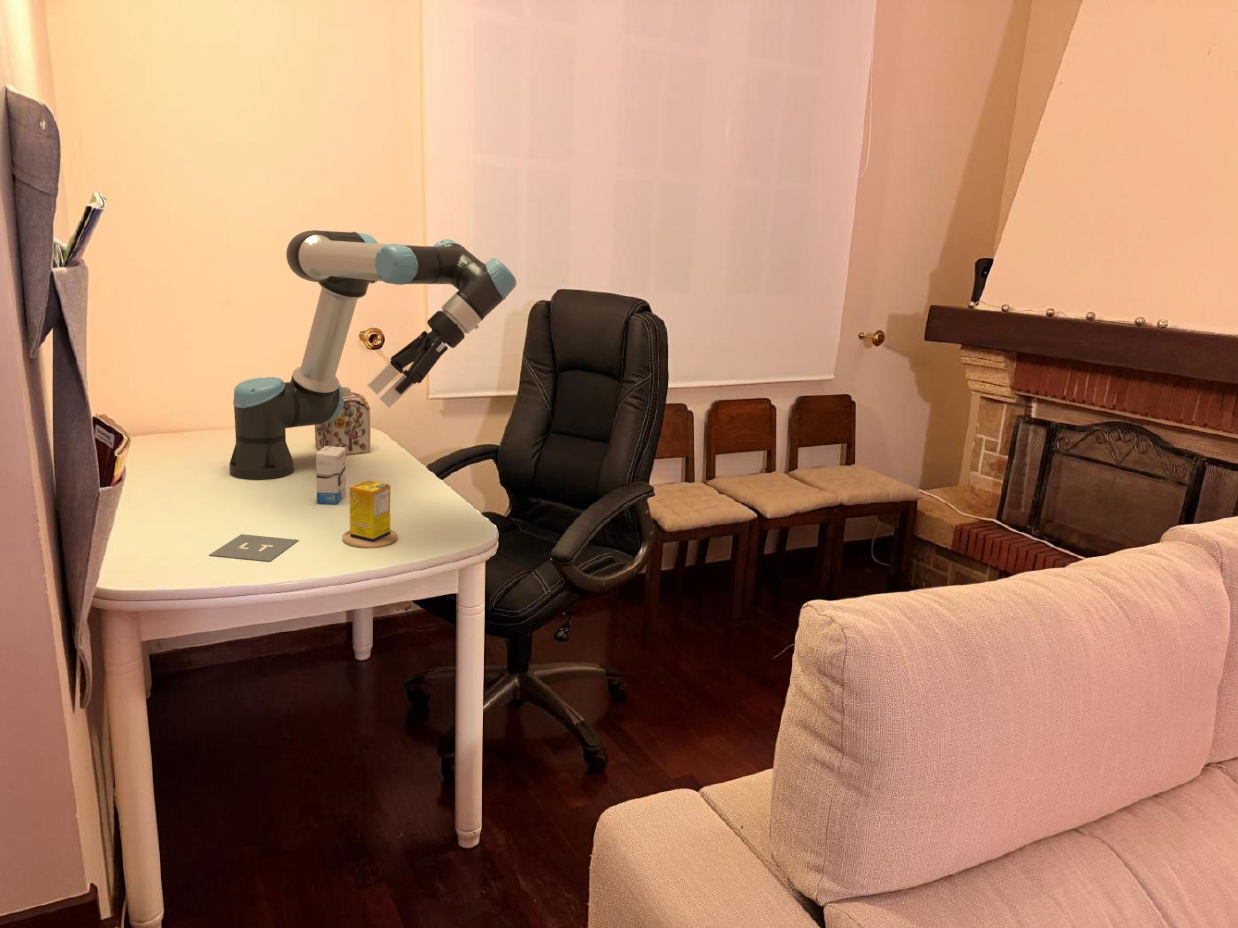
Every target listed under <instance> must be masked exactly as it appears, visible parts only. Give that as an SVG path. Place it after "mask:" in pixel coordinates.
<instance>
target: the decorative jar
mask: <svg viewBox="0 0 1238 928" xmlns="http://www.w3.org/2000/svg"><path fill="white" fill-rule="evenodd" d="M341 387H342V390H343V394H344V395H343V396H342V397H343V398H344V405H343V409H342V411H341V413H340V415H339V416H338V417H337V418H336V419H335V420H333V421H331V422H327V423H324V424H320V425H314V444H315V445H314V446H315V448H316V449H317V450H319V451H320V450H321V449H322V448H324V447H325V446H333V447H345V456H353V455H360V454H361V455H362V454H370V453H371V407H370V405H369V403H368V401H367V400H366V397H365V395H362V394H360V393H357V392H352V391H351V387H348V386H341Z"/></svg>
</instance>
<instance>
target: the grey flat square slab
mask: <svg viewBox="0 0 1238 928" xmlns="http://www.w3.org/2000/svg"><path fill="white" fill-rule="evenodd" d="M297 542H299V539H293V538H285V537H283V538H282V537H275V536H274V537H273V536H264V535H254V534H244V533H241V534H240V535H237V537H234V538H233V539H232V540H230V541H229V542H227V543H225V544H224V545H222V546H221V547H218V549H216V550H214V551H212V552H211V553H210V554H208V556H210V557H217V558H229V559H238V560H247V561H258V562H268V563H270V562H272V561H273V560H274V559H276V558H278V557H279V556H281V555H282V554H283V553H284V552H285V551H287V550H288V549H289V548H291V547H292V546H293V545H295V544H297Z"/></svg>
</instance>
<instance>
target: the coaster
mask: <svg viewBox="0 0 1238 928" xmlns="http://www.w3.org/2000/svg"><path fill="white" fill-rule="evenodd" d="M341 540H342V543H344V544H345V545H347V546H349V547H352V548H360V549H378V548H383V547H387V546H390V545H393V544H395V543H396V542H397V541H398V540H399V539H398V533H397V531H395V530H393V529H390V534H389V535H387V536H385V537H383V538H380V539H378V540H376V541H374V542H370V541H365V540H361V539H357V538H352V537H350V530H347V531H346V532H344V533H343V534H342V538H341Z"/></svg>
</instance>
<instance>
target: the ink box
mask: <svg viewBox="0 0 1238 928" xmlns="http://www.w3.org/2000/svg"><path fill="white" fill-rule="evenodd" d="M315 454H316V455H315V465H316V470H315V471H316V504H324V505H325V504H326V505H327V504H328V505H338V504H339V503H340V502H341V500H342V499H343V498H344V497H345V495H346V493H347V492H346V491H347V488H346V484H347V481H346V479H347V477H346V455H345V447H333V446H325V447H324V448H322V449H321V450H319V451H317V452H316V453H315Z"/></svg>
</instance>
